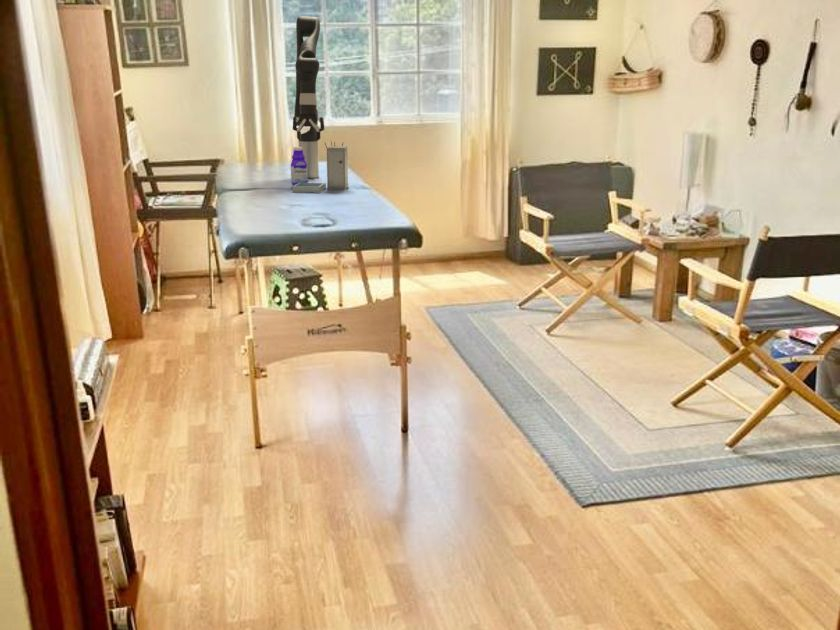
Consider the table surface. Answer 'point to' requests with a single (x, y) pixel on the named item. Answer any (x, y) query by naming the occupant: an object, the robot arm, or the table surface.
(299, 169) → the bottle
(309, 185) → the tray
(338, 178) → the grey slotted box
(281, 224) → the table surface
